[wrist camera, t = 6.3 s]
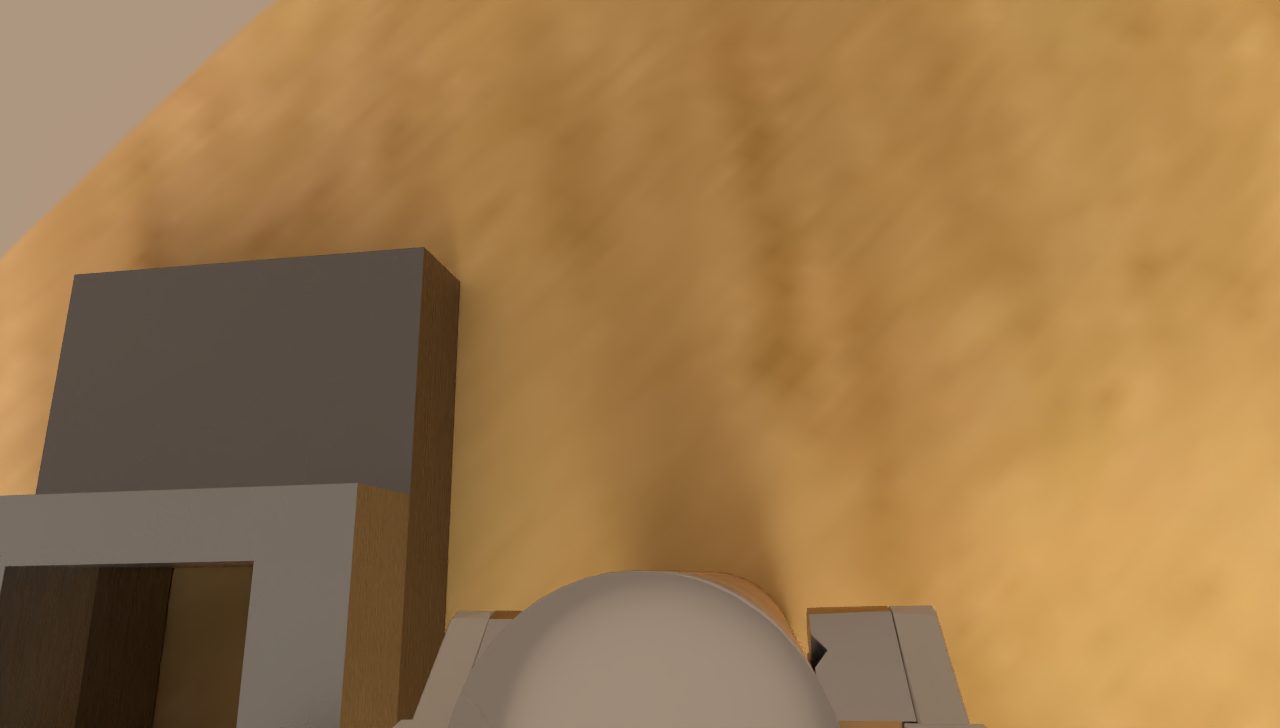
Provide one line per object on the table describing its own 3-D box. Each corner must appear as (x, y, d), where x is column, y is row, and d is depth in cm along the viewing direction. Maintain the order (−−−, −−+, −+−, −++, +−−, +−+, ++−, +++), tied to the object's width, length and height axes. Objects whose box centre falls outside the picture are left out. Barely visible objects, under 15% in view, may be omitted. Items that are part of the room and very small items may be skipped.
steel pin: (789, 570, 15) (836, 567, 6) (800, 739, 15) (873, 1048, 5) (637, 573, 16) (448, 573, 6) (640, 737, 15) (429, 1020, 6)
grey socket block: (459, 281, 18) (378, 203, 14) (418, 1207, 14) (285, 1453, 10) (143, 304, 19) (-12, 237, 15) (11, 1167, 15) (-252, 1375, 11)
